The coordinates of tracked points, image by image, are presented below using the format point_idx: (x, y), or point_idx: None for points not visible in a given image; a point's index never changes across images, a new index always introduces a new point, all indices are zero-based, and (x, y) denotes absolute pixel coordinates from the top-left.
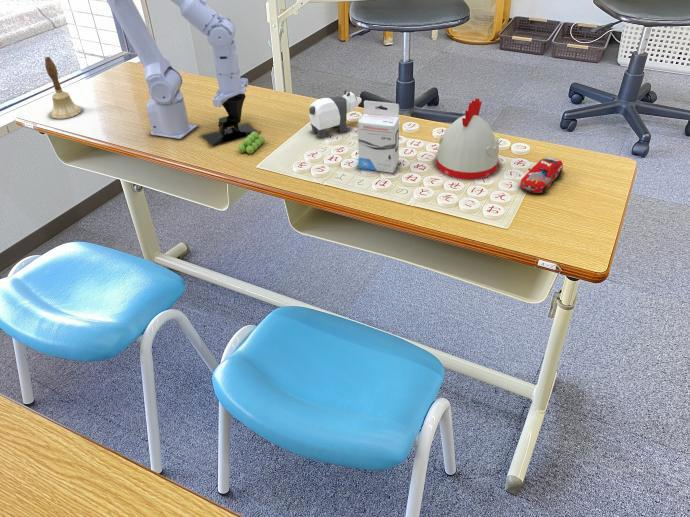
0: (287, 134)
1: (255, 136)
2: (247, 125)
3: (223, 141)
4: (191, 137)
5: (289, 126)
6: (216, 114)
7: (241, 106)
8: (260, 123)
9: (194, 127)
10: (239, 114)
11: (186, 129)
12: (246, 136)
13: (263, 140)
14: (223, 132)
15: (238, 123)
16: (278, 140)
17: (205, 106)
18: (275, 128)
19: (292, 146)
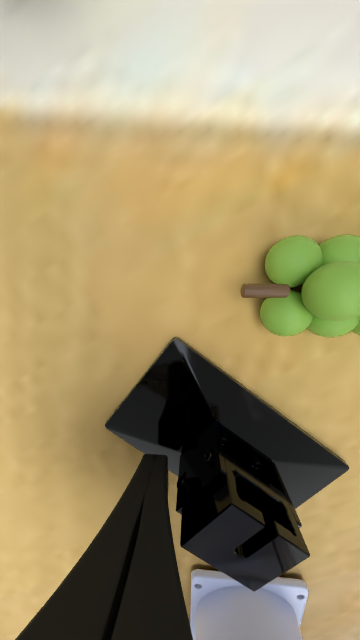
0: (129, 164)
1: None
2: (122, 412)
3: (307, 441)
4: None
5: (36, 207)
6: (76, 546)
7: (90, 573)
8: (72, 370)
9: (210, 575)
10: (146, 506)
11: (255, 600)
12: (222, 370)
13: (300, 236)
14: (281, 479)
15: (165, 455)
16: (217, 180)
17: (40, 591)
18: (89, 274)
19: (278, 24)
